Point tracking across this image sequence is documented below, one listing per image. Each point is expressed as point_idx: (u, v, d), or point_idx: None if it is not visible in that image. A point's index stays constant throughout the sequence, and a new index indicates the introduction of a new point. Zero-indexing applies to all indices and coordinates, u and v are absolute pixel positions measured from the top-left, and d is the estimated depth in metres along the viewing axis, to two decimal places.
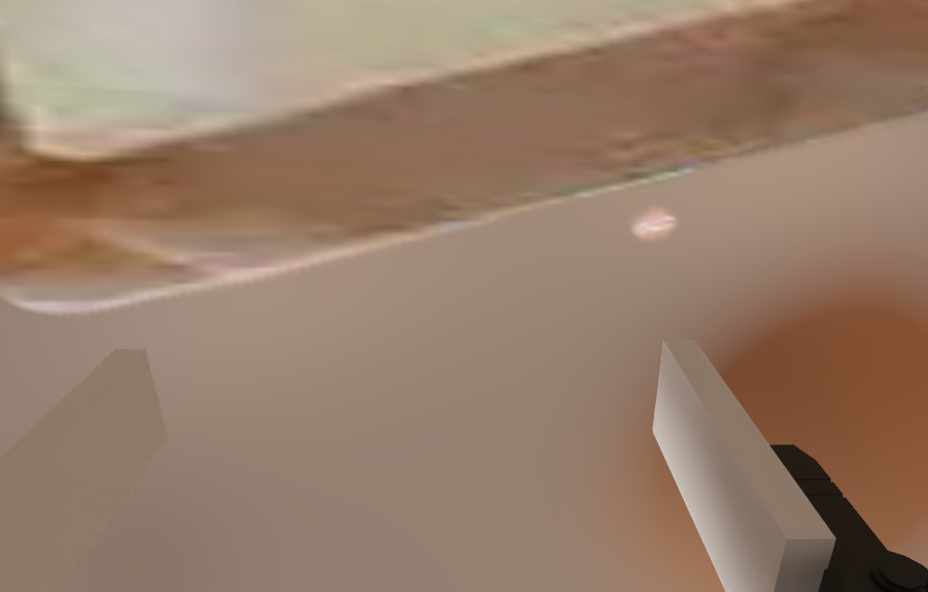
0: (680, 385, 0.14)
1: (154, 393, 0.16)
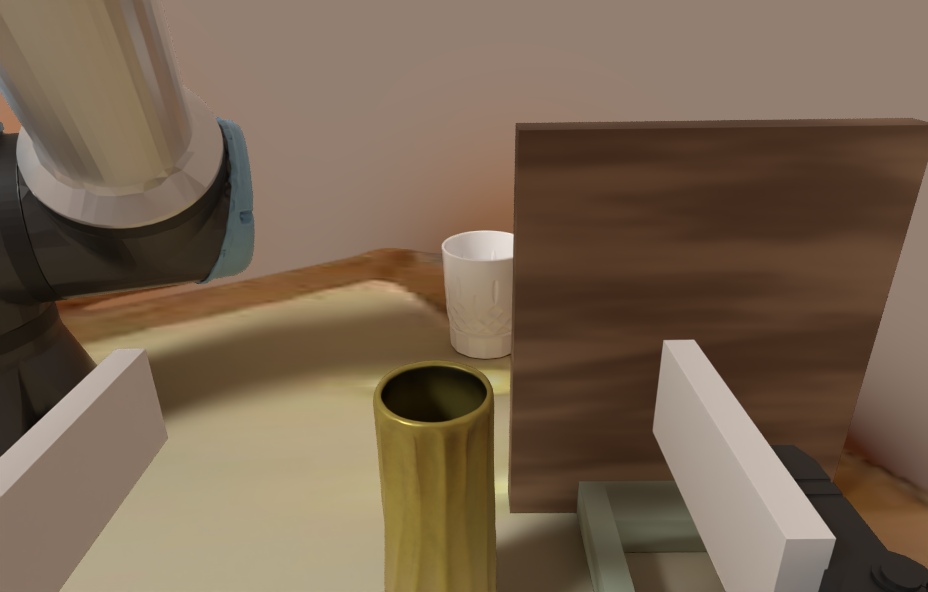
0: (680, 385, 0.14)
1: (154, 393, 0.16)
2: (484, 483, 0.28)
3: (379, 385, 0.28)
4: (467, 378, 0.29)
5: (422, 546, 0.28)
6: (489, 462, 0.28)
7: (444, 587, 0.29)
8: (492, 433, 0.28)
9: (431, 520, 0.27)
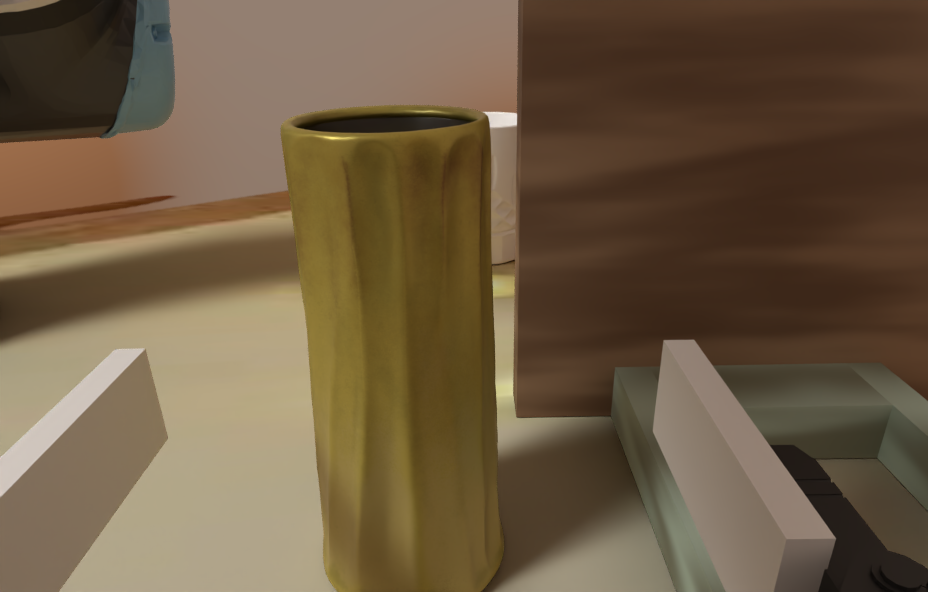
0: (680, 385, 0.14)
1: (154, 393, 0.16)
2: (475, 283, 0.16)
3: (294, 117, 0.16)
4: None
5: (369, 392, 0.16)
6: (484, 254, 0.17)
7: (409, 471, 0.17)
8: (488, 202, 0.16)
9: (382, 339, 0.15)
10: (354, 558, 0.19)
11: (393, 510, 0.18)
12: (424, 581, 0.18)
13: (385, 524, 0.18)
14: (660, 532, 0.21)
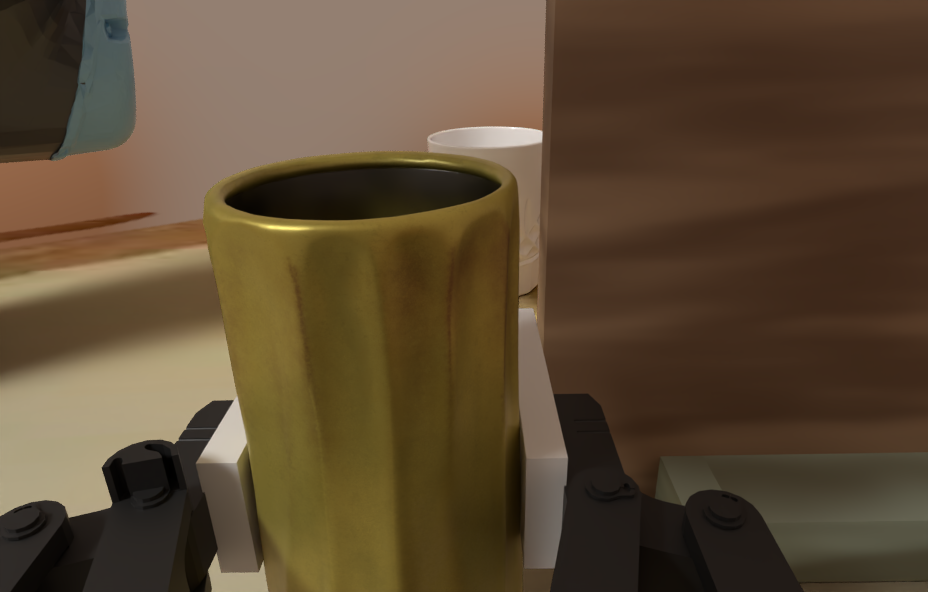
0: None
1: None
2: (497, 422, 0.11)
3: (229, 177, 0.11)
4: (453, 185, 0.13)
5: (340, 584, 0.11)
6: (508, 373, 0.11)
7: None
8: (515, 299, 0.11)
9: (358, 517, 0.10)
10: None
11: None
12: None
13: None
14: None
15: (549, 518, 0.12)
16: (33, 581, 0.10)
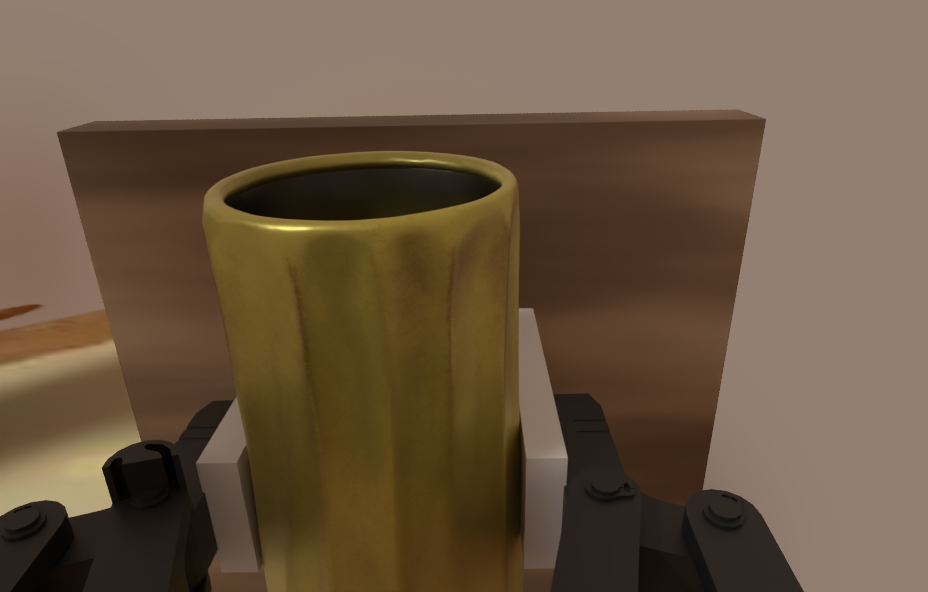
0: None
1: None
2: (497, 423, 0.11)
3: (229, 177, 0.11)
4: (454, 185, 0.13)
5: (339, 586, 0.11)
6: (509, 374, 0.11)
7: None
8: (516, 299, 0.11)
9: (358, 518, 0.10)
10: None
11: None
12: None
13: None
14: None
15: (549, 518, 0.12)
16: (33, 581, 0.10)
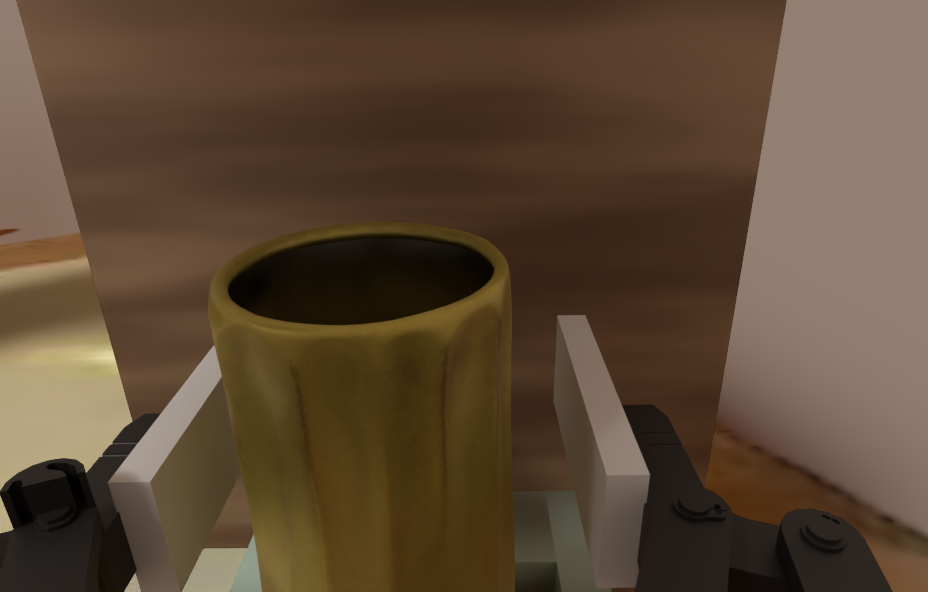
0: (564, 354, 0.16)
1: None
2: (490, 495, 0.11)
3: (233, 259, 0.11)
4: (449, 257, 0.13)
5: None
6: (501, 445, 0.12)
7: None
8: (508, 375, 0.12)
9: (357, 591, 0.11)
10: None
11: None
12: None
13: None
14: None
15: (627, 536, 0.12)
16: None
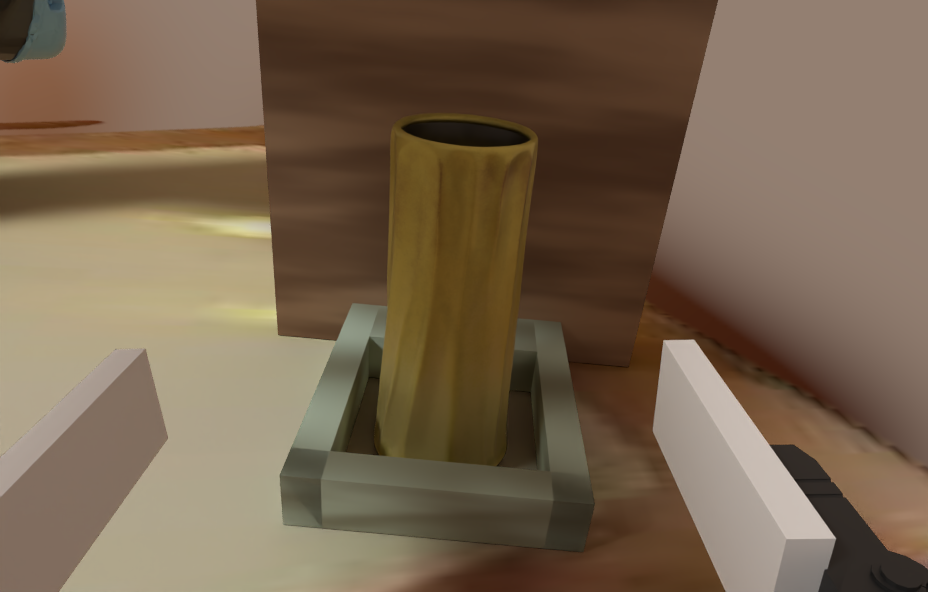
0: (680, 385, 0.14)
1: (154, 393, 0.16)
2: (514, 252, 0.23)
3: (399, 120, 0.23)
4: (504, 137, 0.24)
5: (432, 319, 0.23)
6: (522, 232, 0.23)
7: (452, 378, 0.24)
8: (530, 195, 0.23)
9: (447, 284, 0.22)
10: (402, 438, 0.26)
11: (436, 405, 0.25)
12: (451, 458, 0.26)
13: (429, 414, 0.25)
14: None
15: None
16: None
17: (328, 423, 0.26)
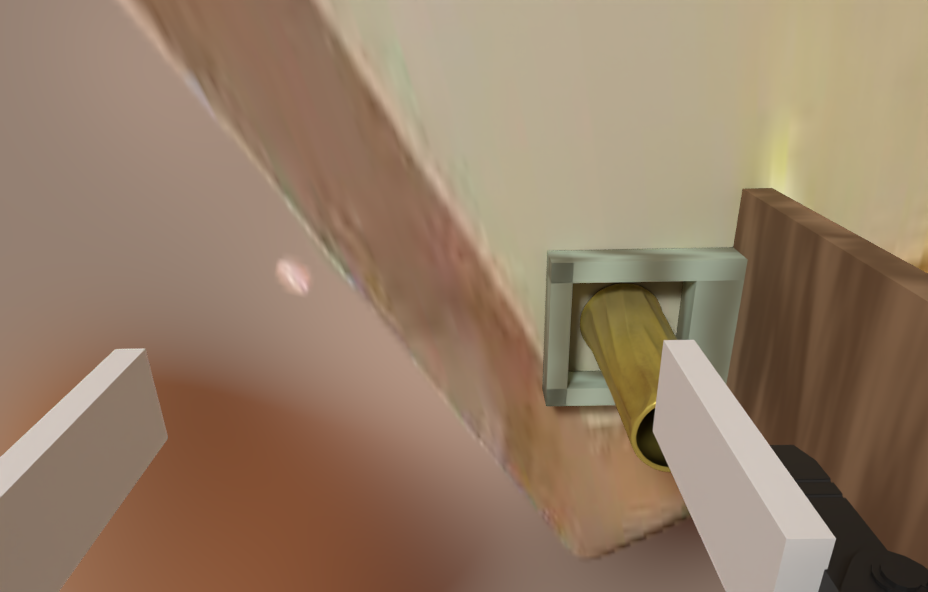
0: (680, 385, 0.14)
1: (154, 393, 0.16)
2: None
3: None
4: None
5: (606, 366, 0.40)
6: None
7: (597, 359, 0.42)
8: None
9: (611, 384, 0.39)
10: (594, 312, 0.45)
11: (595, 342, 0.44)
12: (585, 336, 0.46)
13: (594, 336, 0.44)
14: (628, 251, 0.45)
15: None
16: None
17: (596, 276, 0.43)
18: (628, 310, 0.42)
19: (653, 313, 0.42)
